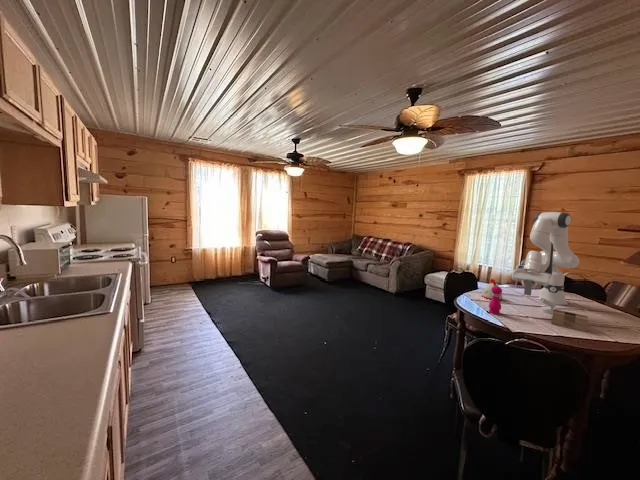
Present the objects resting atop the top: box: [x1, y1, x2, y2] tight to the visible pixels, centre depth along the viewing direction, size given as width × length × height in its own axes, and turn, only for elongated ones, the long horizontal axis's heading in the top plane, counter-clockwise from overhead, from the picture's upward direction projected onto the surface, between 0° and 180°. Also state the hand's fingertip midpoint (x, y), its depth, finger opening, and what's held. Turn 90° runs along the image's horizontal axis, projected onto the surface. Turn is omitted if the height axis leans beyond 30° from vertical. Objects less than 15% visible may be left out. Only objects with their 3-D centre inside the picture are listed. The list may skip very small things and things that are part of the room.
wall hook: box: [539, 298, 558, 315], centre depth 196 cm, size 9×10×10 cm
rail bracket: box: [523, 279, 534, 297], centre depth 186 cm, size 4×4×10 cm
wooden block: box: [550, 308, 589, 333], centre depth 173 cm, size 8×16×8 cm, turn 49°
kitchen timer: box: [481, 278, 503, 302], centre depth 223 cm, size 14×14×15 cm
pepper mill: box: [488, 283, 503, 315], centre depth 191 cm, size 7×7×20 cm
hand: (528, 287), depth 186 cm, fingers closed on rail bracket, 3 cm apart
